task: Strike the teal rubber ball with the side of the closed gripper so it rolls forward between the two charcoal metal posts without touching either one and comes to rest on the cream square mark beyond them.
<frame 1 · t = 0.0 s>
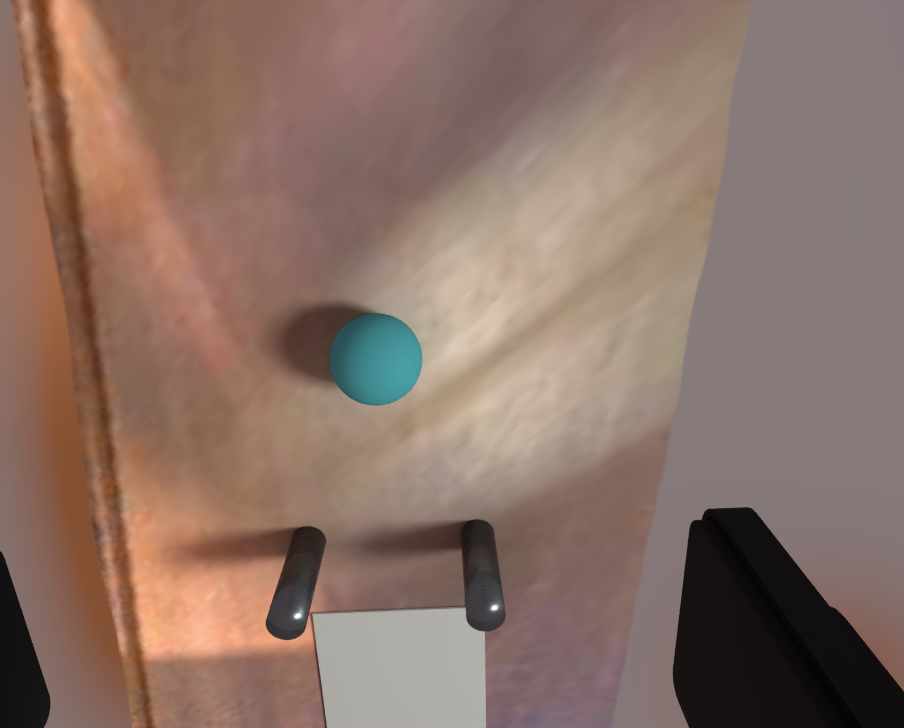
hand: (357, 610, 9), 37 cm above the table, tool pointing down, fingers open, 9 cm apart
ball: (376, 359, 44), on the table
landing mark: (403, 674, 58), on the table
post 2: (477, 533, 53), on the table
post 1: (309, 540, 53), on the table
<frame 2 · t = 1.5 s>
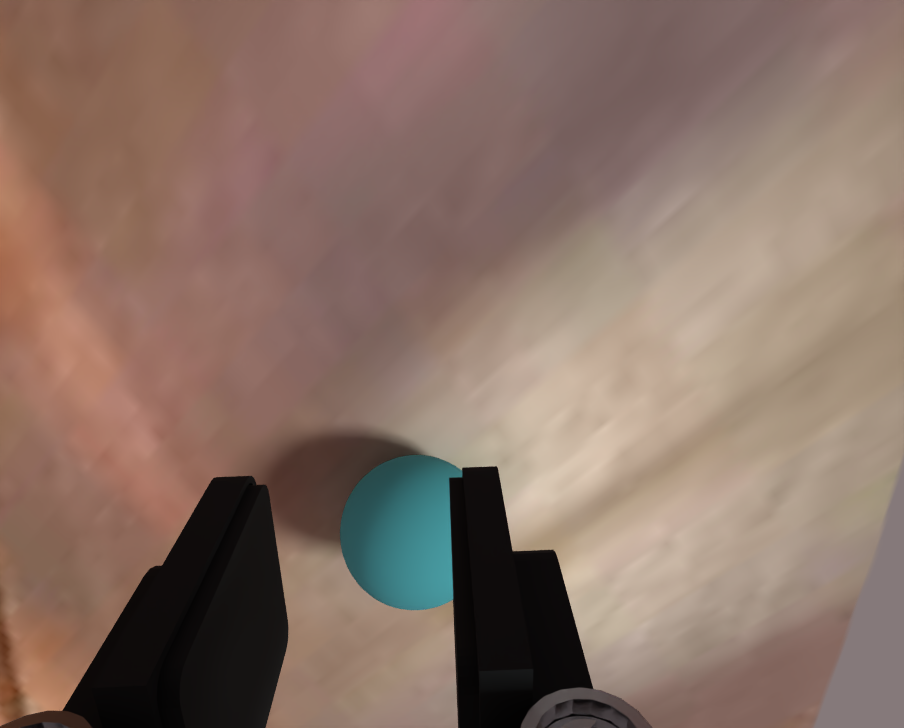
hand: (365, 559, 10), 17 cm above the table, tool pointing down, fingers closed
ball: (415, 530, 27), on the table
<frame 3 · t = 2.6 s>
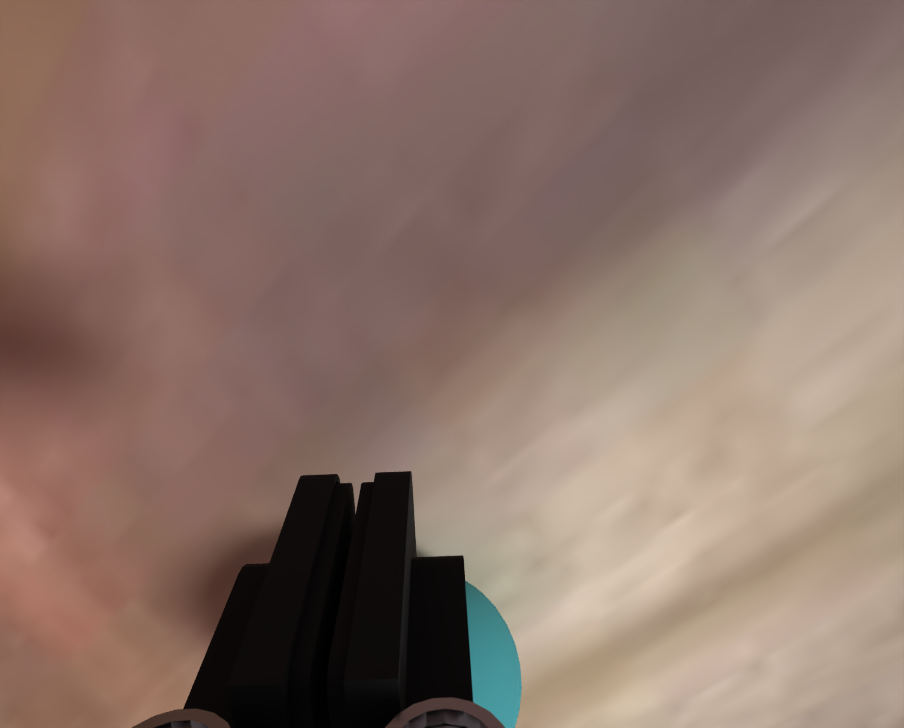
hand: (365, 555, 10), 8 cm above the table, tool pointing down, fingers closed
ball: (412, 679, 19), on the table
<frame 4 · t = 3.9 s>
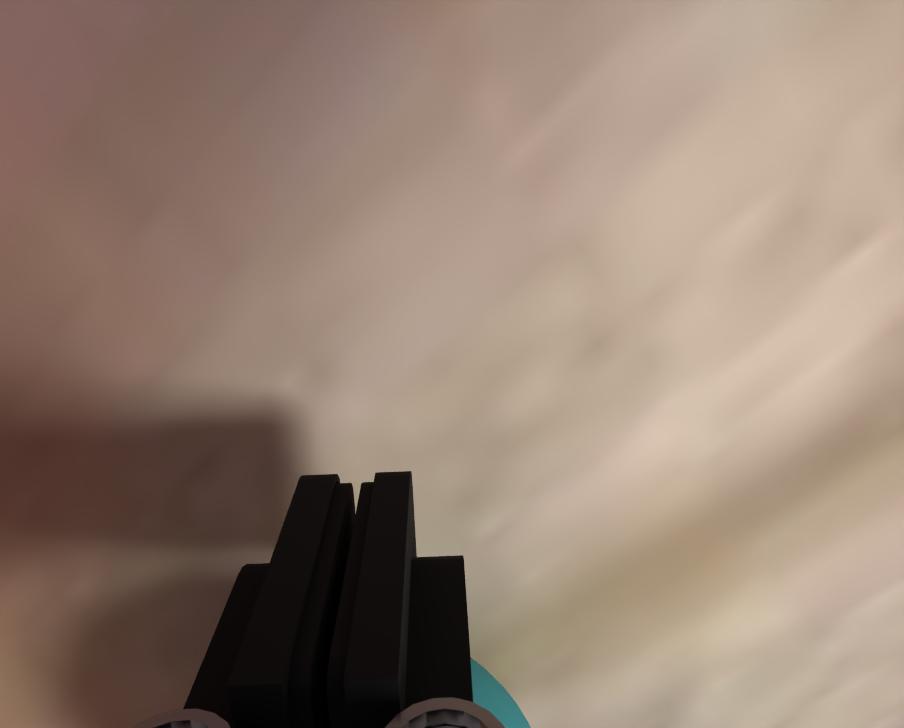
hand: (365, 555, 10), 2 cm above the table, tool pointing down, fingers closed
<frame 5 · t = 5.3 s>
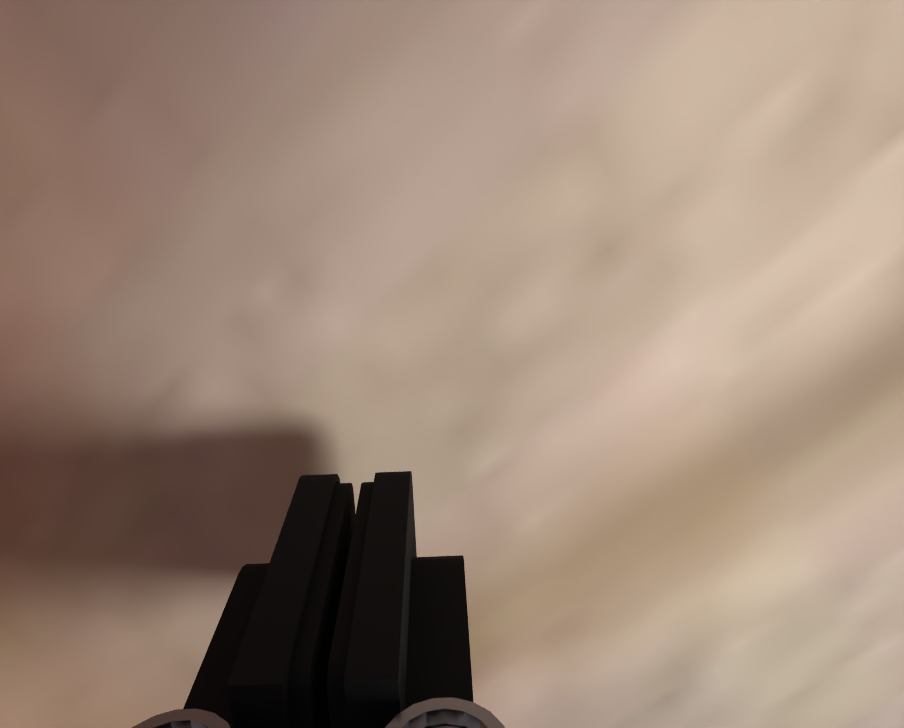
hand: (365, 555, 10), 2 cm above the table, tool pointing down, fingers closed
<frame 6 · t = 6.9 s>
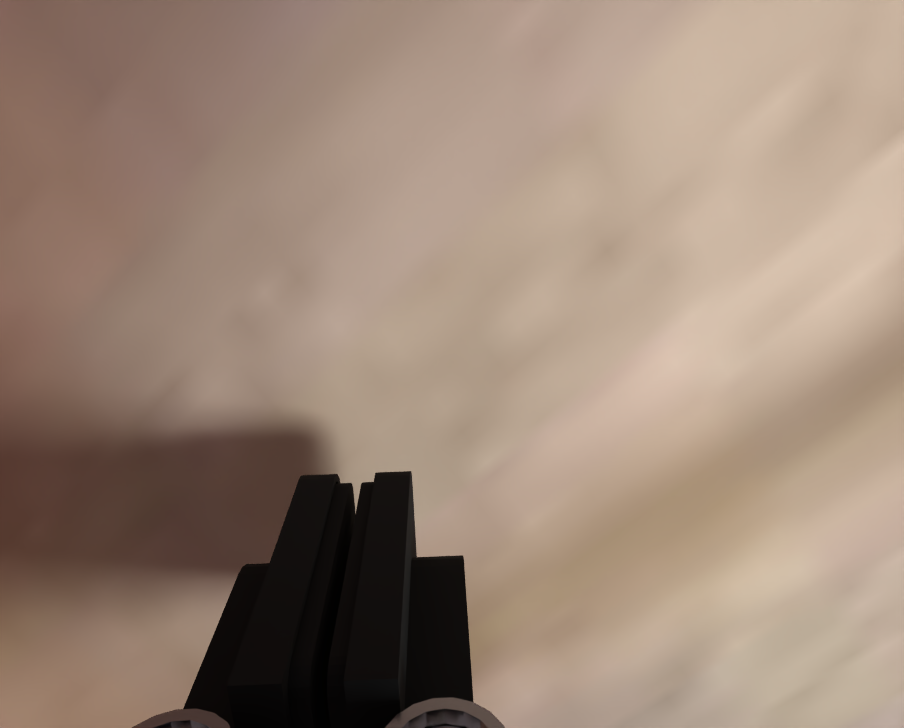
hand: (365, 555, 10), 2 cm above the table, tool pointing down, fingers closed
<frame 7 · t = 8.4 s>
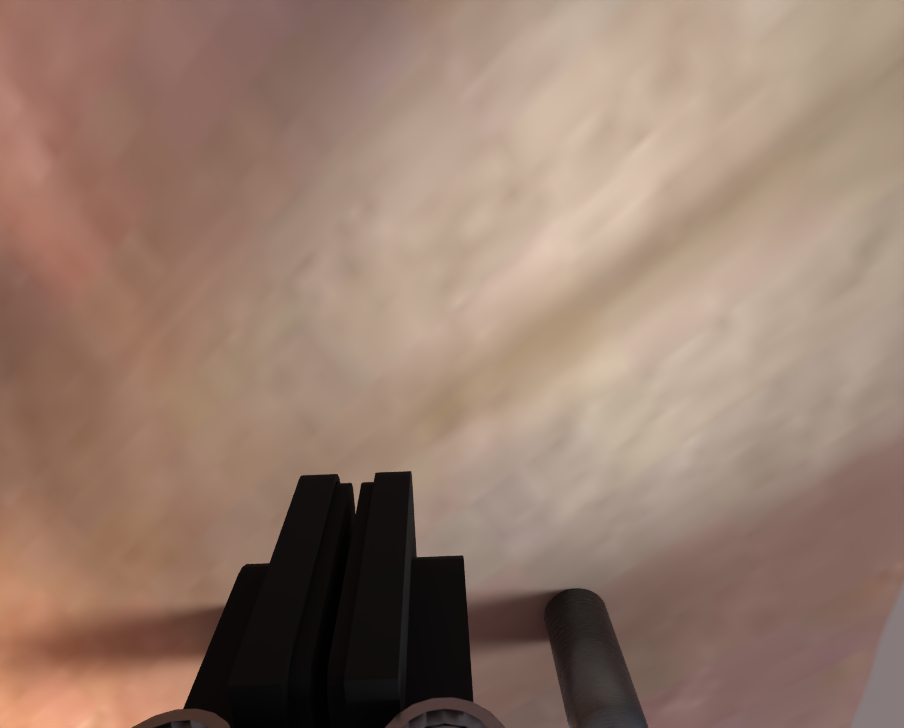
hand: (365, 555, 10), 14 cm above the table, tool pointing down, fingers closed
post 2: (575, 614, 28), on the table
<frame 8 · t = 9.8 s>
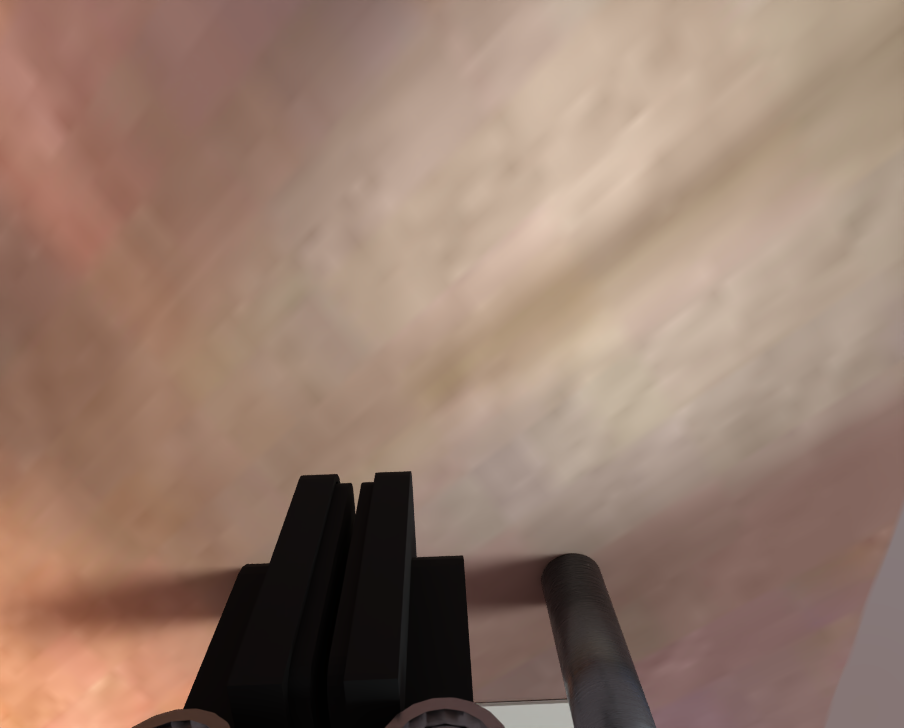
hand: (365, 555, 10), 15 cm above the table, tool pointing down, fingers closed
post 2: (571, 578, 29), on the table
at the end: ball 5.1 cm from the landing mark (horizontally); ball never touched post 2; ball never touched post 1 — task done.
